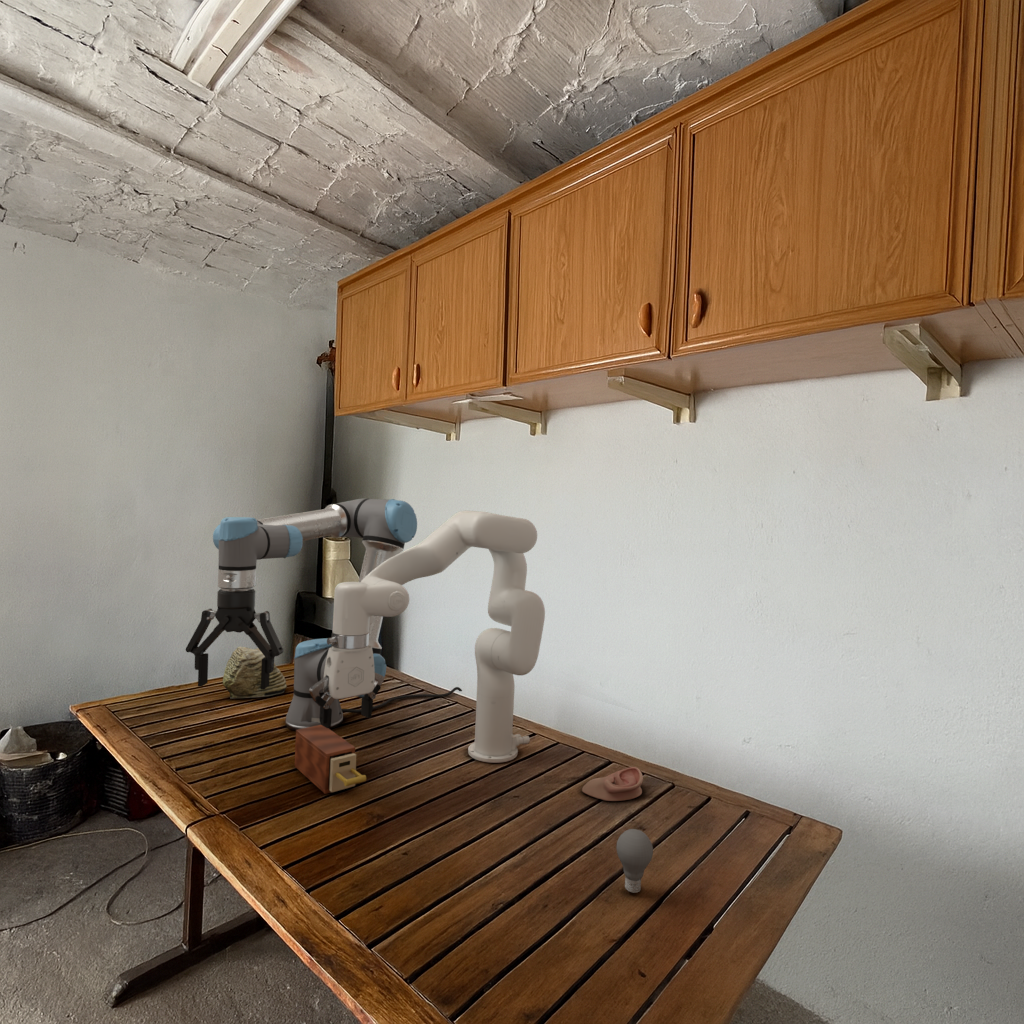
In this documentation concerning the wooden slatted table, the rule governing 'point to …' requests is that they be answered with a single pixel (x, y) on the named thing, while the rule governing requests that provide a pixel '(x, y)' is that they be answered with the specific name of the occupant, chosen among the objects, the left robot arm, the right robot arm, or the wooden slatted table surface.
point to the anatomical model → (616, 785)
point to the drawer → (343, 772)
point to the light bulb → (634, 857)
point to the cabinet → (318, 753)
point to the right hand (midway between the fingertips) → (346, 721)
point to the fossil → (250, 675)
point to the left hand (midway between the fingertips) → (233, 686)
